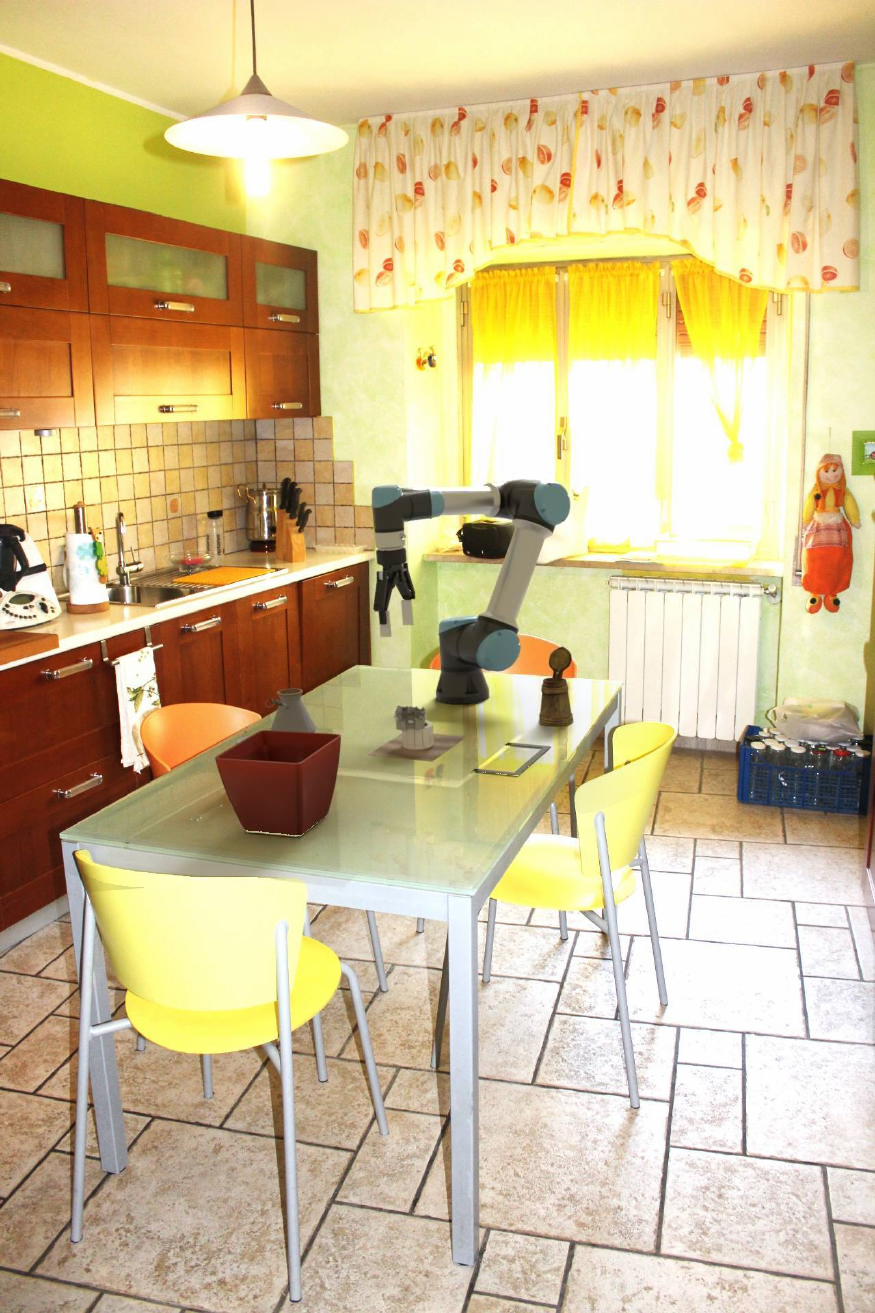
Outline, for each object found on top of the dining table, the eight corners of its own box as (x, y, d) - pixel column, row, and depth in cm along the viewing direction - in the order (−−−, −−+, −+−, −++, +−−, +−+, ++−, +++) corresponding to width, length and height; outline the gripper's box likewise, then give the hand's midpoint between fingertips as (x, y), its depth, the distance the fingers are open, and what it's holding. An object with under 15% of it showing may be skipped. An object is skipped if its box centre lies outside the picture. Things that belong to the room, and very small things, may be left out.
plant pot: (220, 838, 219) (212, 756, 215) (267, 804, 236) (261, 728, 232) (306, 847, 212) (299, 763, 208) (348, 812, 229) (343, 734, 226)
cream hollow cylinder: (411, 739, 272) (410, 719, 271) (438, 742, 269) (437, 721, 268) (397, 748, 266) (396, 728, 265) (425, 751, 263) (424, 730, 262)
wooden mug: (581, 712, 293) (579, 646, 289) (568, 727, 280) (566, 658, 276) (548, 711, 296) (546, 645, 292) (534, 725, 283) (532, 657, 279)
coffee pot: (279, 733, 288) (275, 677, 285) (322, 733, 286) (317, 677, 283) (251, 759, 268) (245, 699, 264) (296, 759, 265) (291, 699, 262)
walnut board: (405, 735, 280) (405, 731, 280) (467, 741, 273) (466, 736, 273) (368, 759, 263) (367, 754, 262) (432, 766, 255) (432, 761, 255)
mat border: (478, 740, 273) (478, 739, 273) (551, 747, 265) (551, 746, 265) (440, 768, 254) (440, 767, 253) (518, 776, 245) (518, 775, 245)
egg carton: (424, 731, 261) (423, 714, 260) (393, 731, 262) (392, 715, 261) (428, 718, 272) (427, 702, 271) (397, 718, 272) (396, 702, 271)
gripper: (382, 555, 264) (390, 642, 269) (424, 540, 287) (429, 620, 292) (354, 556, 267) (362, 641, 272) (397, 540, 290) (404, 619, 294)
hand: (397, 630), depth 282 cm, fingers open, 13 cm apart
